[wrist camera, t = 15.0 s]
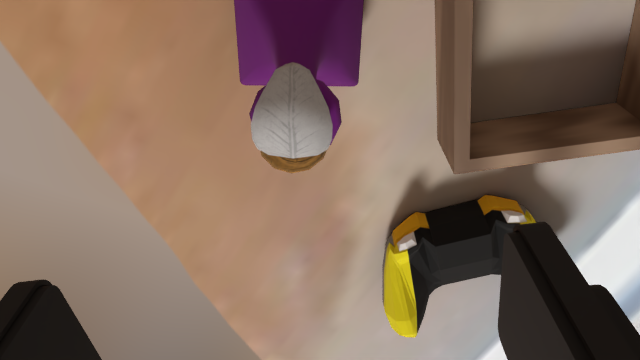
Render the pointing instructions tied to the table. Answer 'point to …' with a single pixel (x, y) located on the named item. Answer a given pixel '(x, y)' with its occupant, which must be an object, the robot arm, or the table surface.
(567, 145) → the divided wooden tray
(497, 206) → the gaming controller
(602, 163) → the table surface
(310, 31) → the perfume bottle
